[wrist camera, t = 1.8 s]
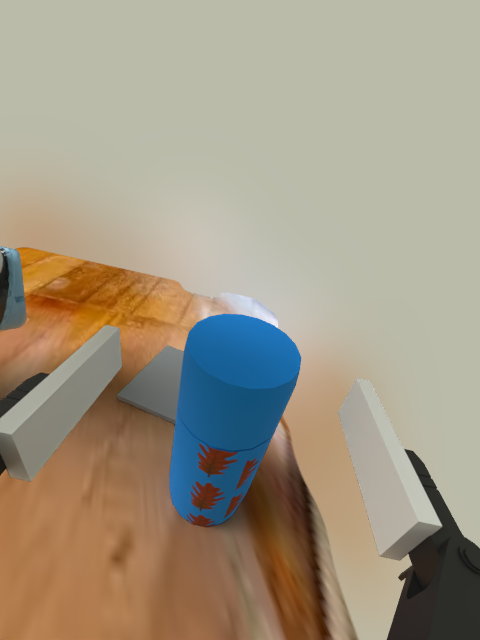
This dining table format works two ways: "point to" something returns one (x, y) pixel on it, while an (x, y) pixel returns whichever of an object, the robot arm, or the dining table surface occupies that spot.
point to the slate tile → (157, 385)
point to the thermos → (227, 412)
